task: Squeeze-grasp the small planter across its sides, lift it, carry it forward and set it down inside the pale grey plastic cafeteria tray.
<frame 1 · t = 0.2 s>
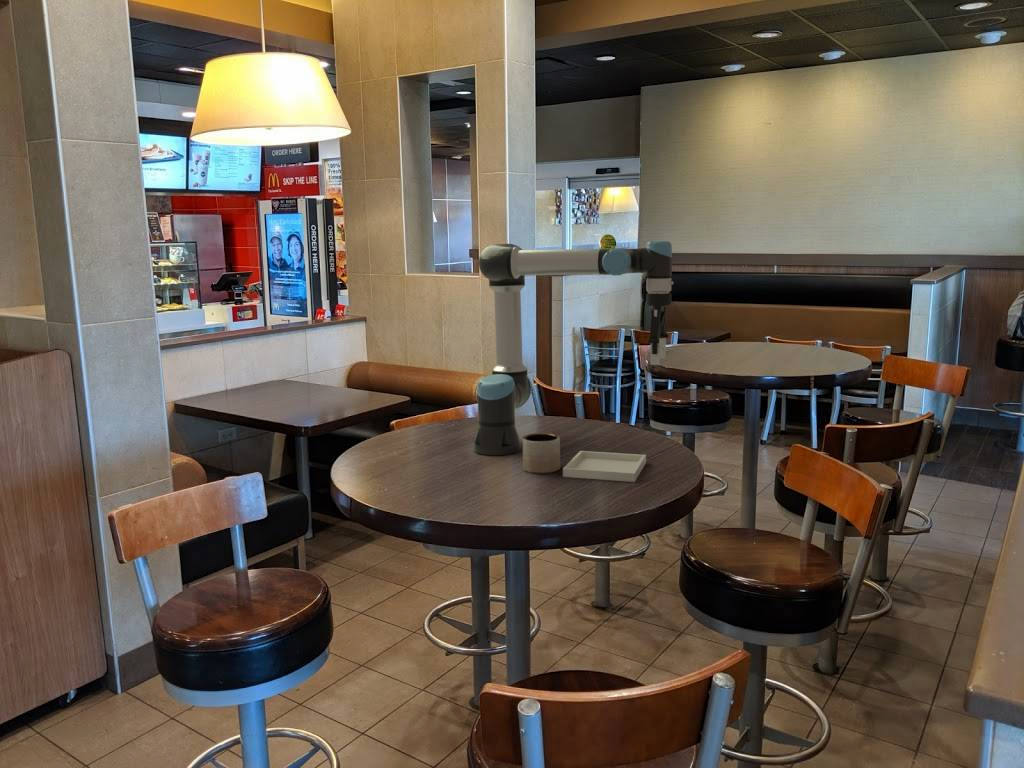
hand: (658, 361, 242), 28 cm above the table, fingers open, 13 cm apart
tray: (605, 469, 225), on the table
planter: (541, 470, 227), on the table
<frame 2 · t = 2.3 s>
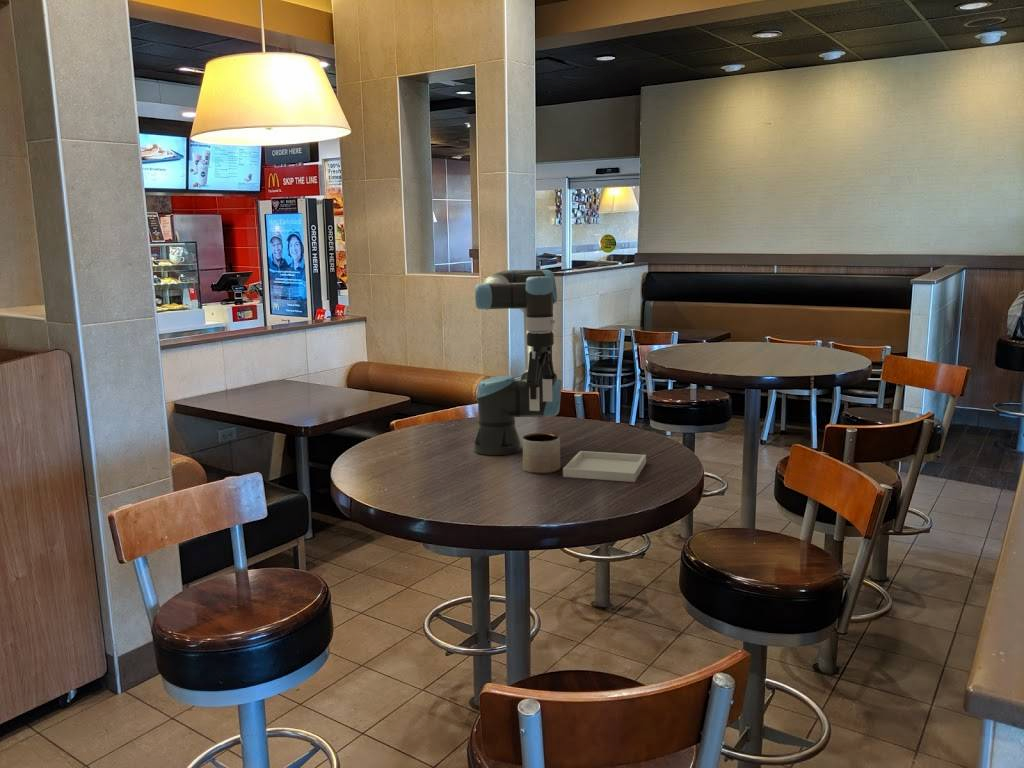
hand: (541, 405, 224), 19 cm above the table, fingers open, 13 cm apart
nothing on the table moved.
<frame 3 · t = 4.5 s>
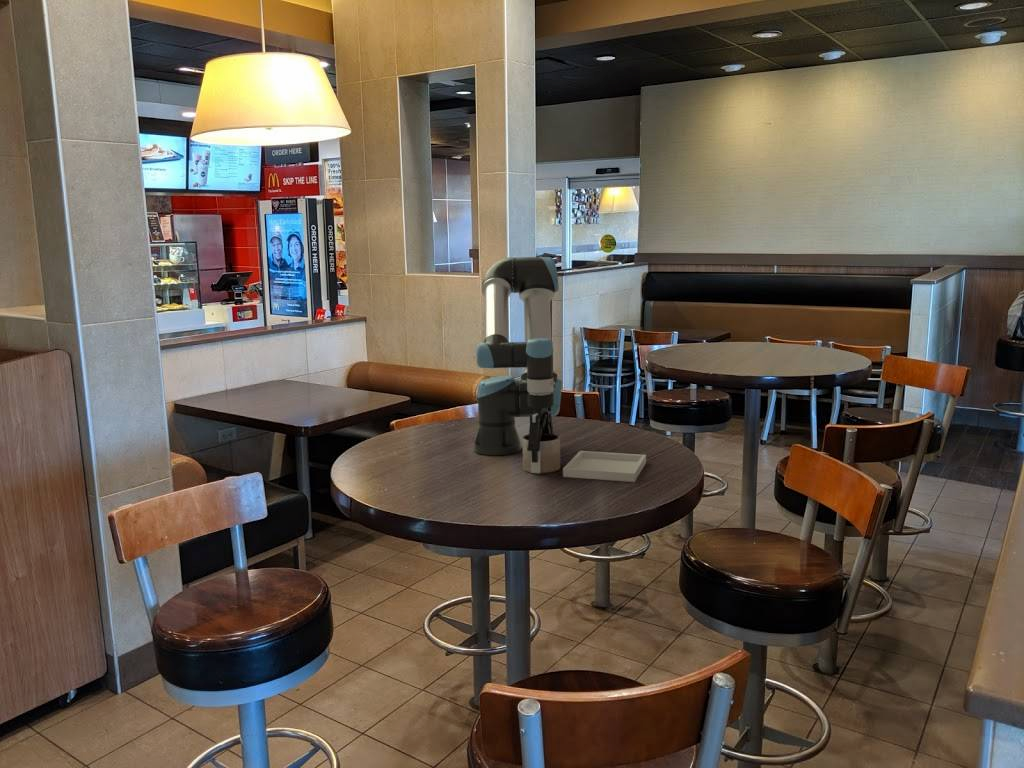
hand: (541, 467, 227), 1 cm above the table, fingers closed on planter, 11 cm apart
planter: (541, 469, 227), on the table, touching gripper
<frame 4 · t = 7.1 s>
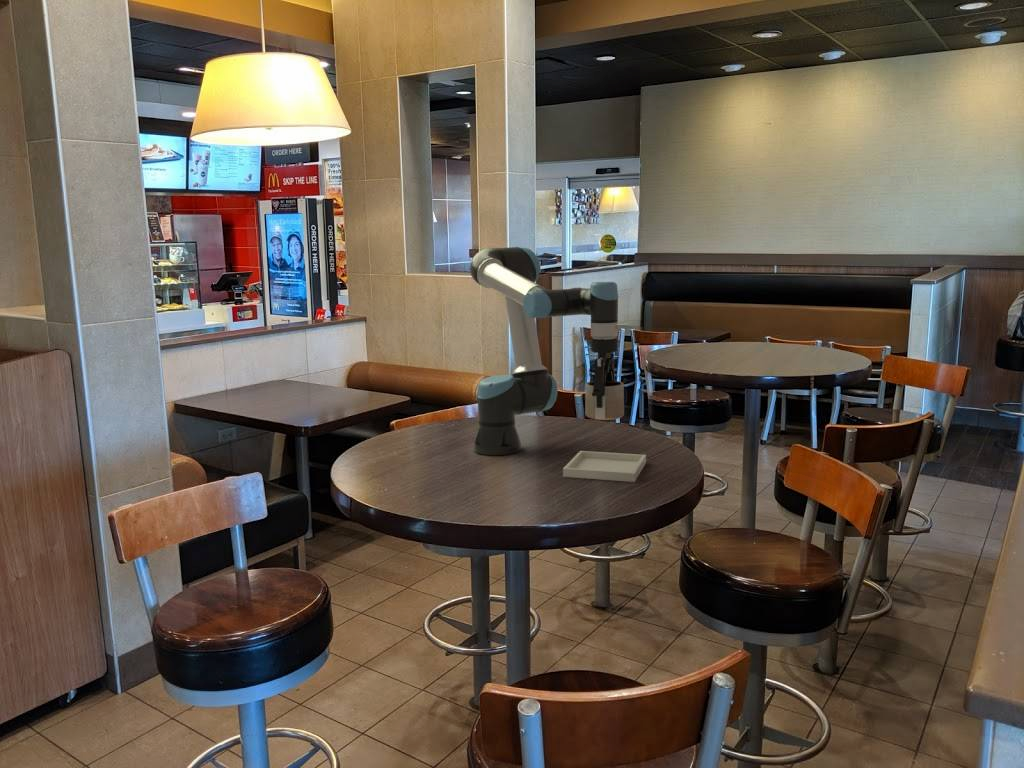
hand: (604, 414, 222), 16 cm above the table, fingers closed on planter, 11 cm apart
planter: (604, 417, 222), point 15 cm above the table, touching gripper
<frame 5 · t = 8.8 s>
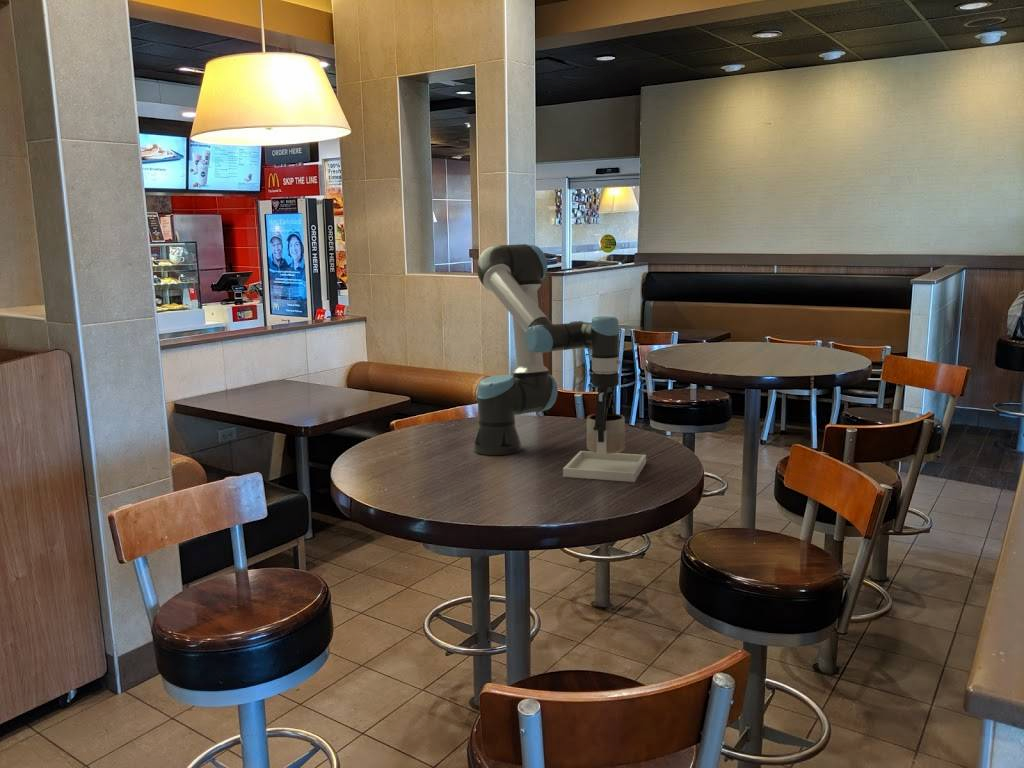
hand: (605, 448, 224), 6 cm above the table, fingers closed on planter, 11 cm apart
planter: (605, 450, 224), point 6 cm above the table, touching gripper
when the fingers open (3 cm above the table, at t = 10.0 s): planter drops 2 cm, resting on tray.
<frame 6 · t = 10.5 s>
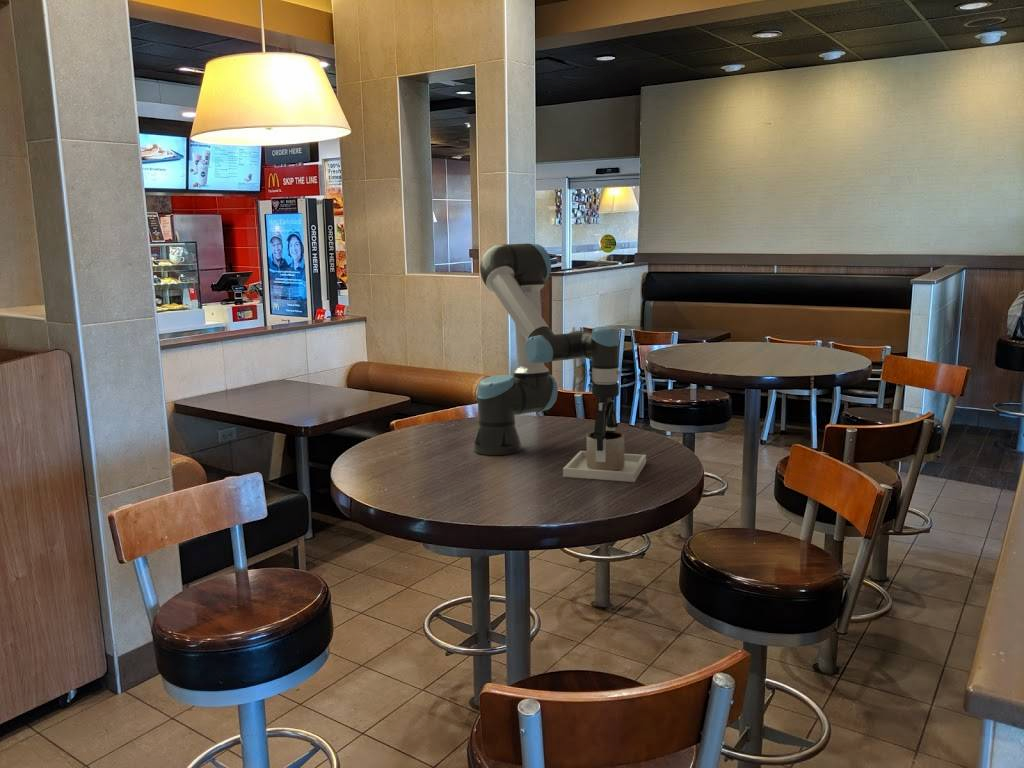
hand: (605, 455, 225), 4 cm above the table, fingers open, 13 cm apart
planter: (605, 467, 225), point 1 cm above the table, touching tray
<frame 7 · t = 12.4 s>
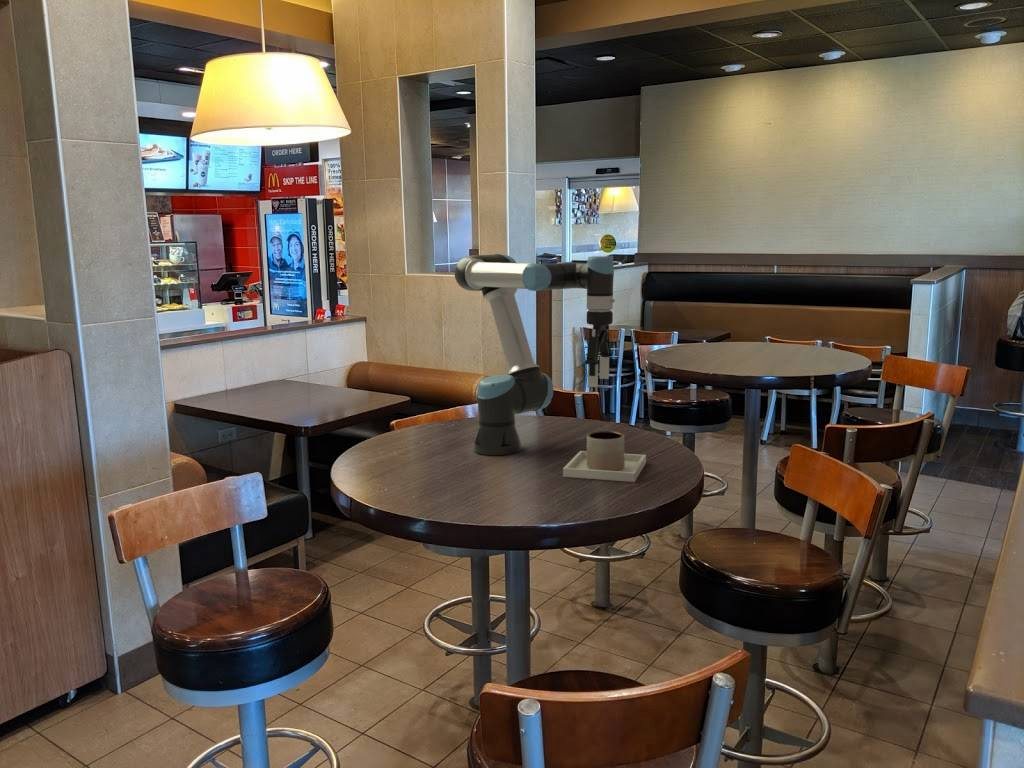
hand: (598, 382, 230), 24 cm above the table, fingers open, 13 cm apart
nothing on the table moved.
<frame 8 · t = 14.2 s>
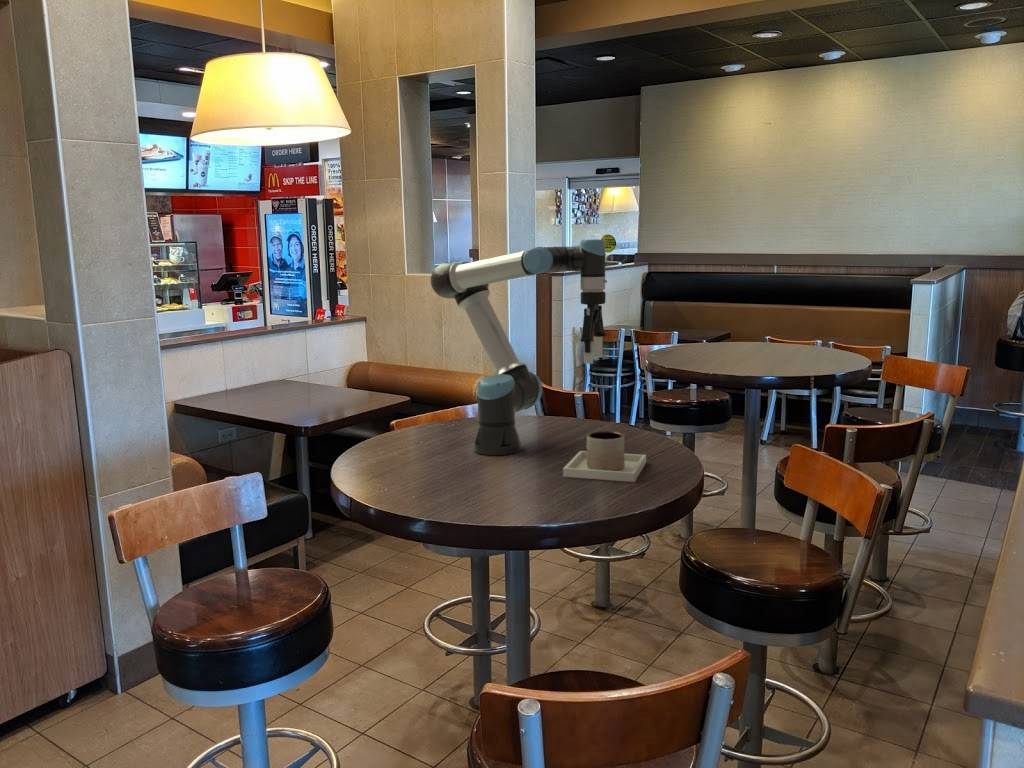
hand: (593, 360, 242), 29 cm above the table, fingers open, 13 cm apart
nothing on the table moved.
at the end: planter inside the target area on the tray (0.1 cm from its centre), point 0.4 cm above the tray's base; planter tilted 0°; the gripper is holding nothing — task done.
